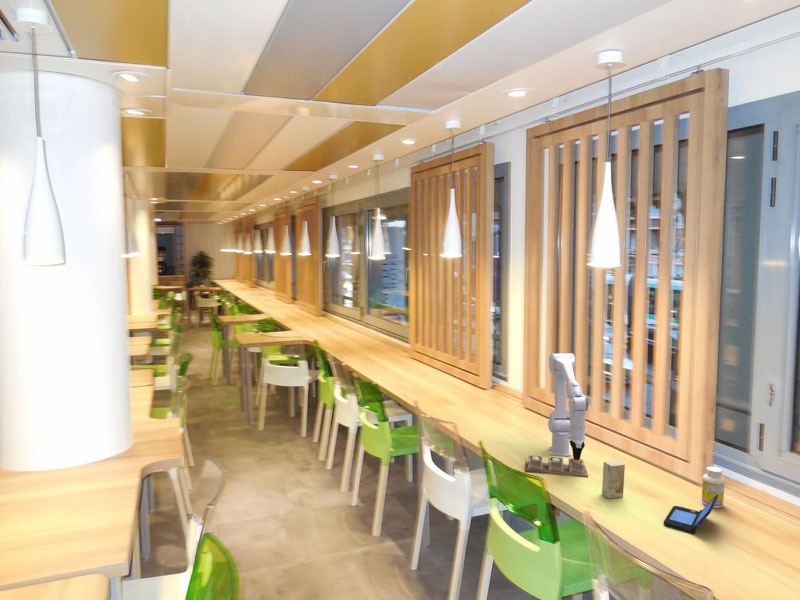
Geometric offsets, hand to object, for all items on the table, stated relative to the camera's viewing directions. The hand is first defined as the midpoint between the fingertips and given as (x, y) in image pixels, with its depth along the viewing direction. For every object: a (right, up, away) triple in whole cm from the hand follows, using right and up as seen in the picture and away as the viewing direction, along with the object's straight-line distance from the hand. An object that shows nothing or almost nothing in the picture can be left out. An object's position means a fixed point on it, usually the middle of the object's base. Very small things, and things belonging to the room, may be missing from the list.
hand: (576, 459), depth 224 cm
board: (-8, -5, +2) cm, 9 cm away
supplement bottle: (+39, -8, -28) cm, 49 cm away
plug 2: (-8, -4, +2) cm, 9 cm away
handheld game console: (+24, -9, -41) cm, 49 cm away
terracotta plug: (0, -3, 0) cm, 3 cm away
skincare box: (+6, -7, -21) cm, 23 cm away
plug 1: (-16, -4, +4) cm, 16 cm away
